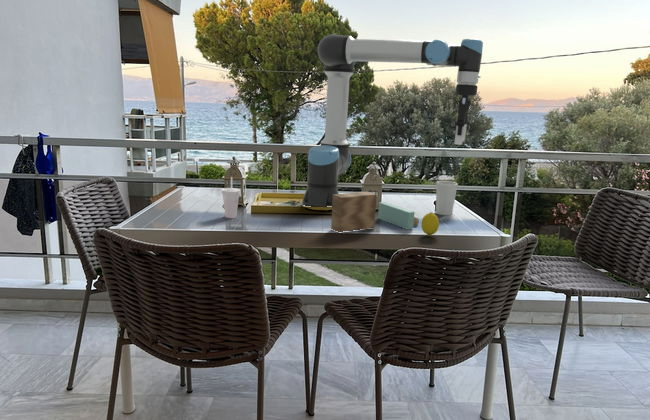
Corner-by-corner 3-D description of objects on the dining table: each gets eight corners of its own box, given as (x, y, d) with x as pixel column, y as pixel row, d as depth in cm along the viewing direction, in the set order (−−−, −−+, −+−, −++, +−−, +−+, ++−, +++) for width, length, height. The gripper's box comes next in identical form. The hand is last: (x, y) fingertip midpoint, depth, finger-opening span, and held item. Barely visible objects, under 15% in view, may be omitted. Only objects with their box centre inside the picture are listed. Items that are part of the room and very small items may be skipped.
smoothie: (243, 215, 176) (243, 176, 173) (234, 220, 170) (234, 179, 167) (227, 213, 178) (227, 175, 175) (218, 217, 172) (217, 177, 169)
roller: (418, 226, 174) (419, 217, 174) (411, 226, 173) (413, 218, 172) (399, 219, 182) (400, 211, 182) (393, 219, 181) (394, 211, 180)
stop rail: (407, 229, 168) (408, 212, 166) (378, 218, 181) (379, 202, 179) (413, 228, 169) (414, 211, 167) (383, 217, 182) (384, 201, 180)
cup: (454, 216, 189) (458, 185, 186) (433, 214, 190) (436, 183, 187) (453, 211, 196) (457, 181, 193) (433, 210, 198) (436, 180, 195)
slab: (339, 234, 159) (341, 197, 156) (331, 230, 163) (332, 194, 161) (374, 229, 167) (376, 194, 164) (365, 225, 171) (367, 191, 168)
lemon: (418, 233, 164) (420, 210, 162) (434, 233, 164) (437, 210, 162) (423, 238, 158) (425, 214, 156) (439, 238, 159) (442, 214, 157)
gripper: (476, 84, 167) (468, 147, 173) (479, 85, 190) (471, 140, 196) (453, 82, 170) (446, 144, 175) (459, 84, 193) (452, 138, 198)
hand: (459, 142), depth 185 cm, fingers open, 13 cm apart
